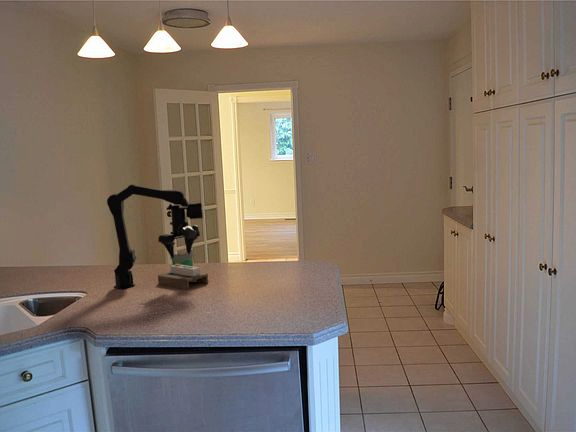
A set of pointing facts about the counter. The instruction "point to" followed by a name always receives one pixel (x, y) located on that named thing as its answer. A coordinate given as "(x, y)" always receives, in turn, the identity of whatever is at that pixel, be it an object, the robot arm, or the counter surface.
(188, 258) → the food container
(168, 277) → the keyhole board
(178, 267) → the power strip
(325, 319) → the counter surface
